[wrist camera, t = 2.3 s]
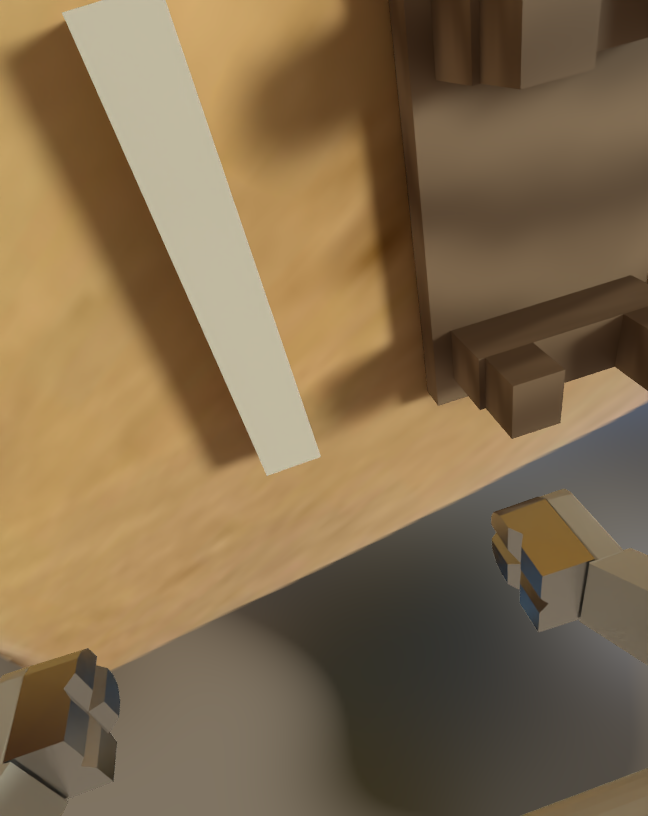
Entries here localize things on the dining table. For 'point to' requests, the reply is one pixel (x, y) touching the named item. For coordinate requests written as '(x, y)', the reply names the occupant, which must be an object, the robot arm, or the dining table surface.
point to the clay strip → (194, 213)
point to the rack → (526, 195)
